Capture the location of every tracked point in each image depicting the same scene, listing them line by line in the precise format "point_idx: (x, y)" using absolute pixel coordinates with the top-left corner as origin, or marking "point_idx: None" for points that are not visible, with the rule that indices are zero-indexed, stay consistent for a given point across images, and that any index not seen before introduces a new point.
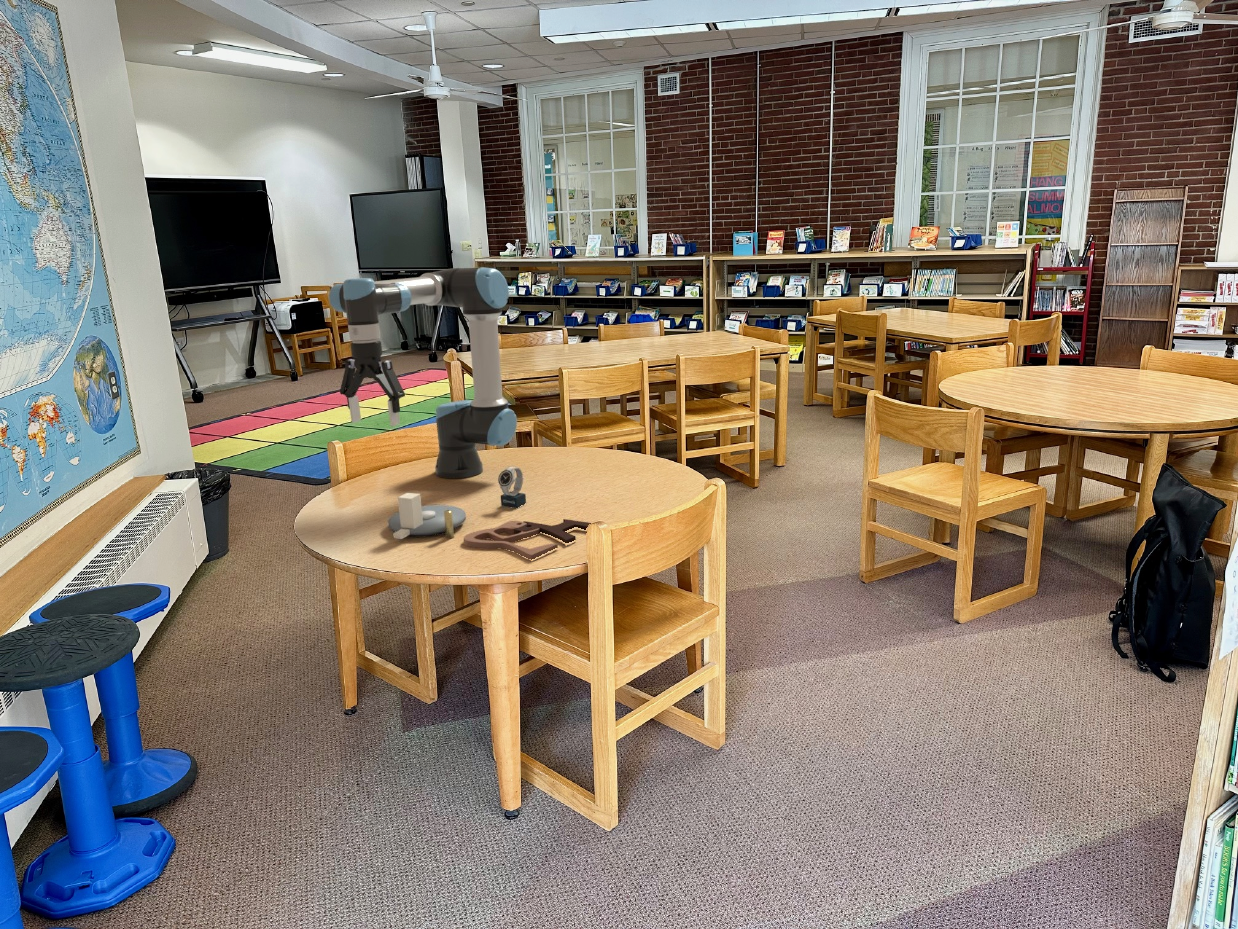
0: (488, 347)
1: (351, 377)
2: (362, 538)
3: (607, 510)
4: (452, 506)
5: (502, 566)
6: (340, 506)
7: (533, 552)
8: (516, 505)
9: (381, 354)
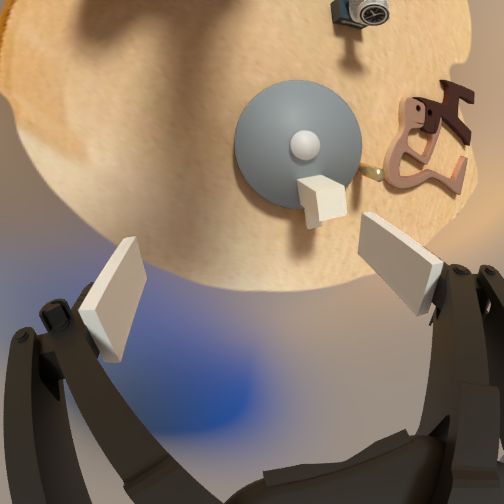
0: None
1: (49, 448)
2: (242, 233)
3: (444, 27)
4: (304, 82)
5: (440, 215)
6: (76, 155)
7: (459, 188)
8: (363, 27)
9: None
